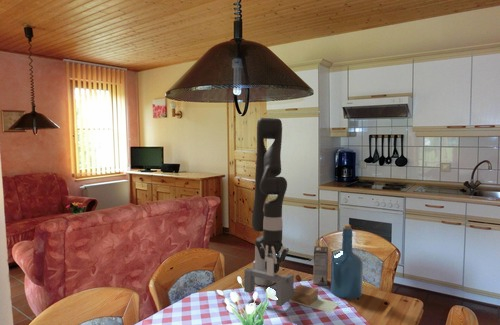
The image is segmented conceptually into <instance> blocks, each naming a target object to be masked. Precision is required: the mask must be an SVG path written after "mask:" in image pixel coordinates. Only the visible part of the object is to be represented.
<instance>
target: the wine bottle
mask: <svg viewBox="0 0 500 325" xmlns="http://www.w3.org/2000/svg"><path fill="white" fill-rule="evenodd" d="M341 236H342V240H341V242H342V244H341V250H340V251H338V252H336V253H334V254H333V255H332V257H331V259H330V293H331V294H332V295H334V297H339V298H341V299H349V300H353V299H359V298H360V297H362V296H363V277H364V276H363V272H364V270H363V268H364V264H363V260H362V258H361V257H360V256H359V255H358V254H356V253H355V252H354V251H353V237H354V235H353V228H352V225H351V224H344V226H343V227H342V234H341Z"/></svg>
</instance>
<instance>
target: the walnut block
mask: <svg viewBox="0 0 500 325" xmlns="http://www.w3.org/2000/svg"><path fill="white" fill-rule="evenodd" d="M318 298H319V288H315V287H312V286H307V285H303V284H299V285H298V286H296V287H295V288H293V298H292V299H291V301H295V302H298V303H302V304H305V305H309V306H310V305H311V304H312V303H313V302H315V301H316V300H317V299H318ZM291 301H290V302H291ZM298 303H297V304H298ZM305 305H304V306H305Z"/></svg>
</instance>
